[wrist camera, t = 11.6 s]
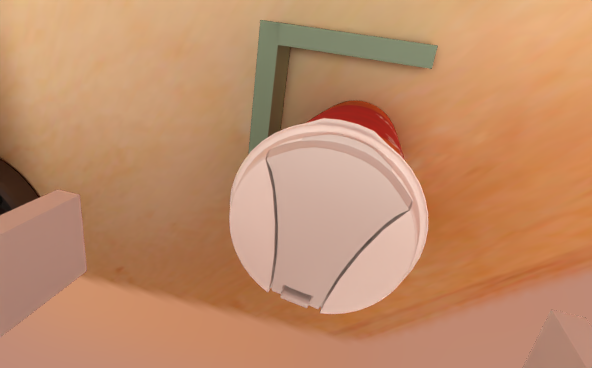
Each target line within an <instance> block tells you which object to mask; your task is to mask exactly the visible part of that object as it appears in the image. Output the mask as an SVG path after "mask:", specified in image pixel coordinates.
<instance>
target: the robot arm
mask: <svg viewBox="0 0 592 368" xmlns="http://www.w3.org/2000/svg"><path fill="white" fill-rule="evenodd" d="M86 271H87V265H86V254H85V244H84V233H83V222H82V212H81V201H80V195H79V194H75V193H71V192H67V191H63V190H59V189H57V190H55V191H53V192H51V193H48V194H46V195H44V196H42V197H40V198H38V196H37V195H36V193H35V192H34V191H33V189H32V188H31V187H30V185H29V184H28V183H27V182H26V181H25V180H24V179H23V178H22V177H21V176H20V175H19V174H18V173H17V172H16V171H15V170H14V169H13V168H11V167H10V166H9V165H8V164H6V163H5V162H3V161H2V160H0V337H1V336H3V335H4V334H5V333H7V332H8V331H9V330H11V329H12V328H13V327H15V326H16V325H17V324H18V323H20V322H21V321H22V320H24V319H25V318H26V317H28V316H29V315H30V314H31V313H33V312H34V311H35V310H37V309H38V308H39V307H41V306H42V305H43V304H45V303H46V302H47V301H48V300H50V299H51V298H52V297H54V296H55V295H56V294H57V293H59V292H60V291H62V290H63V289H64V288H65V287H67V286H68V285H69V284H71V283H72V282H73V281H75V280H76V279H77V278H78V277H80V276H81V275H82V274H84V273H85V272H86ZM523 368H592V326H591V325H590V323H589V322H588V320H587V319H586V318H585V317H581V316H577V315H573V314H569V313H565V312H561V311H557V310H551V311H550V313H549V315H548V318H547V319H546V321H545V323H544V326H543V328H542V329H541V331H540V334H539V335H538V337H537V339H536V341H535V343H534V346H533V347H532V349H531V351H530V354H529V356H528V358H527V360H526V362H525V364H524V366H523Z"/></svg>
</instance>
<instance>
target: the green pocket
mask: <svg viewBox="0 0 592 368" xmlns="http://www.w3.org/2000/svg"><path fill="white" fill-rule="evenodd" d="M290 47H295V48H301V49H308V50H314V51H321V52H327V53H333V54H340V55H346V56H353V57H359V58H365V59H372V60H378V61H385V62H391V63H397V64H404V65H410V66H417V67H423V68H429V69H432V66H433V62H434V58H435V54H436V51H437V47H438V46H437V45H430V44H423V43H416V42H409V41H403V40H396V39H389V38H382V37H375V36H368V35H361V34H355V33H348V32H341V31H334V30H327V29H320V28H313V27H306V26H300V25H293V24H286V23H279V22H272V21H265V20H260V30H259V41H258V53H257V64H256V75H255V86H254V97H253V108H252V119H251V131H250V142H249V153H250V152H251V151H252V150H253V149H254V148H255V147H256V146H257V145H258V144H260V143H261V142H262V141H263V140H265V139H266V138H268V137H269V136H271V135H273V134H274V133H276V132H278V131H280V128H281V120H282V112H283V104H284V95H285V87H286V79H287V70H288V62H289V54H290ZM249 153H248V155H249Z"/></svg>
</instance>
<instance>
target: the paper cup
mask: <svg viewBox="0 0 592 368" xmlns="http://www.w3.org/2000/svg"><path fill="white" fill-rule="evenodd" d="M229 224H230V233H231V238H232V242H233V245H234V248H235V251H236V254H237V256H238V257H239V259H240V261H241V263H242V265H243V266H244V268H245V269H246V271H247V272H248V273H249V275H250V276H251V277H252V278H253V279H254V280H255V281H256V283H257V284H258V285H259V286H261V287H262V288H263V289H264V290H265V291H267V292H269V290H270V288H272V291H274V292H276V293H279V294H281V297H280V298H282V299H285V300H287V301H290V302H292V303H295V304H297V305H300V306H302V307H305V308H307V307H308V305H309V306H311V307H314V308H316V309H319V307H321V310H320V313H323V314H341V313H349V312H353V311H358V310H361V309H364V308H366V307H369V306H371V305H373V304H375V303H377V302H379V301H380V300H382V299H384V298H385V297H386V296H388V295H389V294H390V293H391V292H393V291H394V290H395V289H396V288H397V287H398V285H399V284H400V283H401V282H402V281H403V279H404V278H405V277H406V276H407V275H408V274H409V273H410V272H411V270H412V269H413V268H414V266H415V264H416V263H417V261H418V260H419V258H420V256H421V253H422V251H423V248H424V246H425V242H426V237H427V232H428V210H427V205H426V199H425V196H424V193H423V190H422V188H421V185H420V182H419V181H418V179H417V177H416V176H415V174H414V172H413V170H412V169H411V167H410V166H409V165H408V164H407V163H406V161H405V160H404V156H403V153H402V150H401V146H400V143H399V140H398V137H397V134H396V131H395V129H394V126H393V124H392V122H391V121H390V119H389V118H388V116H387V115H386V114H385V113H384V112H383V111H382V110H381V109H379V108H378V107H376V106H374V105H372V104H370V103H367V102H363V101H347V102H343V103H340V104H337V105H335V106H333V107H331V108H329V109H327V110H326V111H324V112H322V113H321V114H319V115H317V116H316V117H314V118H313V119H311V120H309V121H308V122H306V123H304V124H299V125H295V126H291V127H288V128H286V129H283V130H281V131H278V132H276V133H274V134H273V135H271V136H269V137H268V138H266V139H265V140H263V141H262V142H261V143H260V144H258V145H257V146H256V147H255V148H254V149H253V150H252V151H251V152H250V153H249V155H248V156H247V157H246V158H245V160H244V161H243V162H242V164H241V166H240V168H239V170H238V172H237V174H236V176H235V179H234V182H233V185H232V190H231V197H230V213H229Z"/></svg>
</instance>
